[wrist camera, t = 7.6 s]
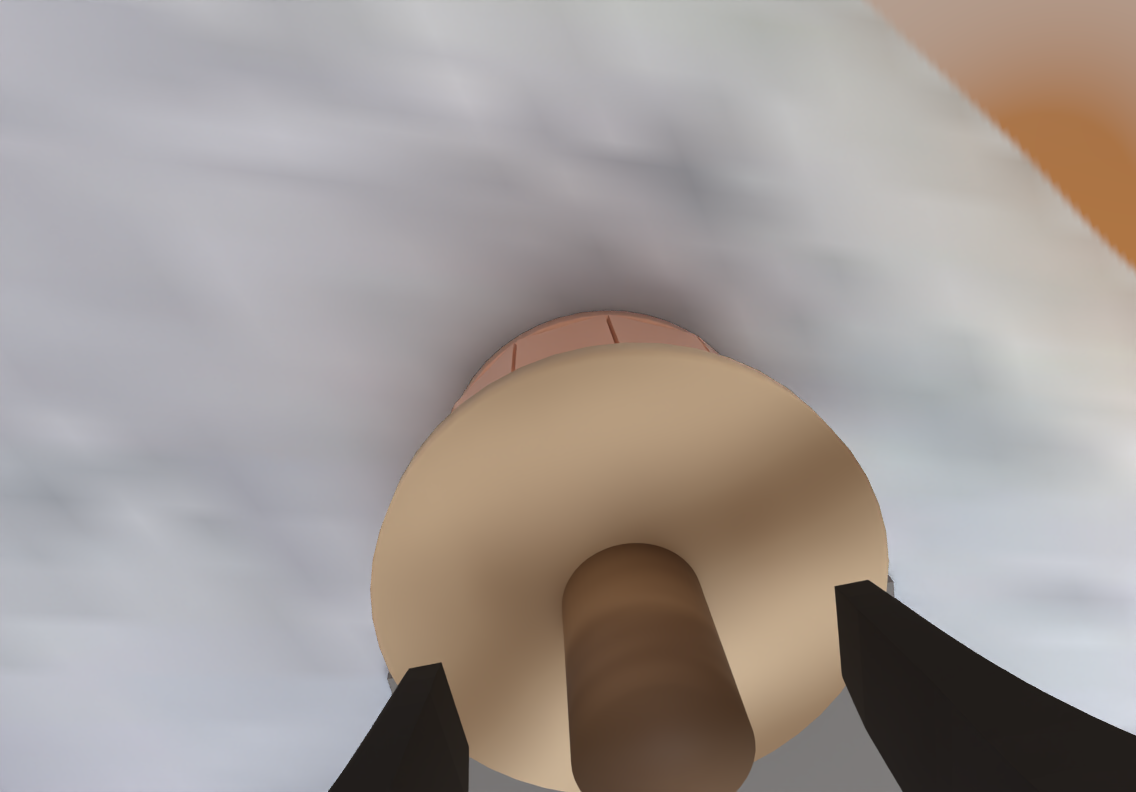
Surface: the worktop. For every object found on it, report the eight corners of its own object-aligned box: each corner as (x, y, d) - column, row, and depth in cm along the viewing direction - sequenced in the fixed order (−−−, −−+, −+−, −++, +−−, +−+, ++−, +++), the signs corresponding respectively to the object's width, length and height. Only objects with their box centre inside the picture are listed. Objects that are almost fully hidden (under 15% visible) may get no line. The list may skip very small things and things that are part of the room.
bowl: (821, 454, 21) (903, 548, 16) (605, 643, 23) (622, 774, 19) (602, 239, 19) (625, 278, 14) (381, 472, 21) (336, 573, 16)
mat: (901, 861, 27) (906, 871, 27) (485, 936, 28) (485, 947, 27) (887, 574, 23) (893, 581, 22) (389, 670, 23) (387, 679, 23)
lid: (965, 557, 17) (1133, 727, 12) (628, 826, 19) (659, 1053, 14) (624, 226, 14) (670, 279, 9) (278, 595, 16) (175, 787, 12)
